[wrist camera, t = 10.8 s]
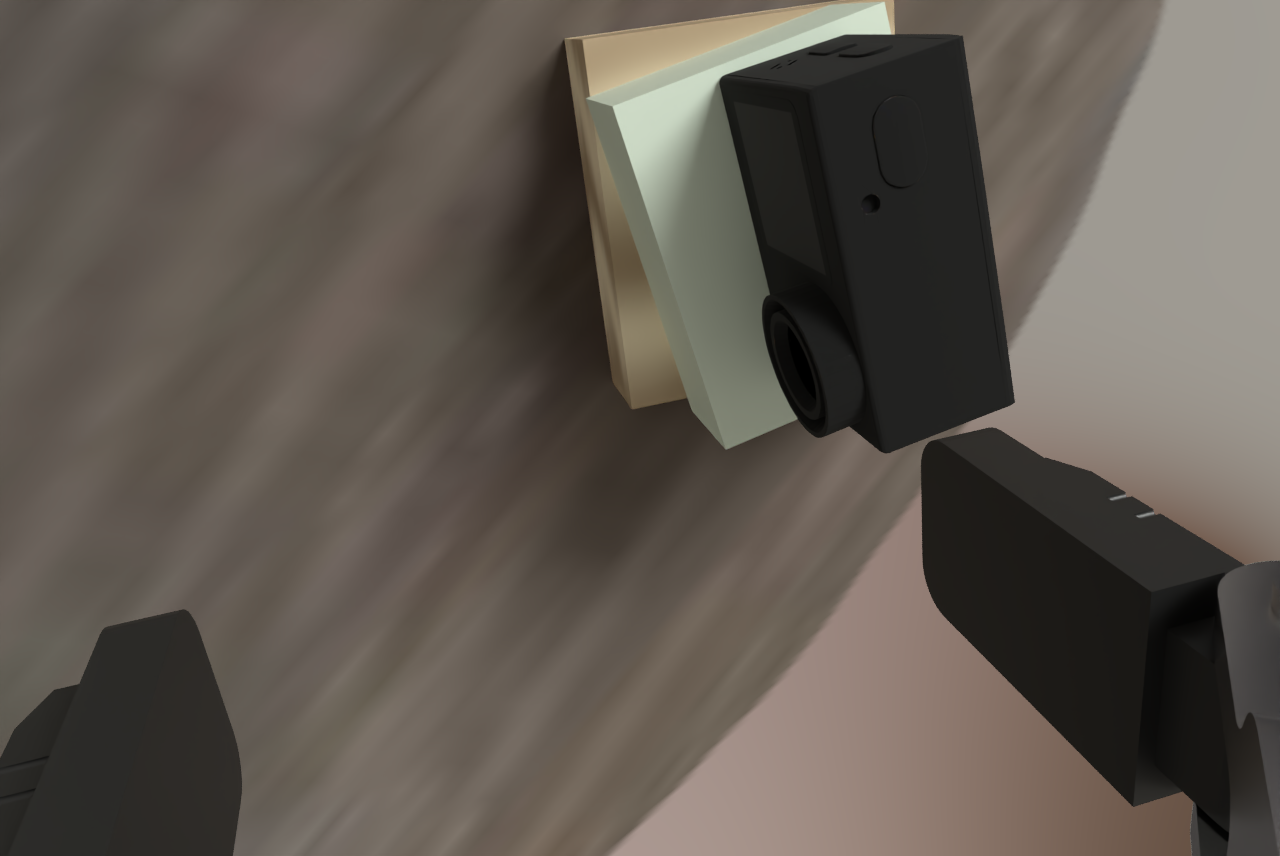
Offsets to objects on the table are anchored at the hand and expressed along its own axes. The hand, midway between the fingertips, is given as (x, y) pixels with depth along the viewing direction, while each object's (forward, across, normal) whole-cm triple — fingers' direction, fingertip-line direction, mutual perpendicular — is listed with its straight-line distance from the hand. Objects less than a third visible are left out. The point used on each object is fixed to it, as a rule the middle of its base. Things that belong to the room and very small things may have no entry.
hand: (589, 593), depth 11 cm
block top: (+26, -11, +2) cm, 28 cm away
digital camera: (+22, -11, +2) cm, 24 cm away
